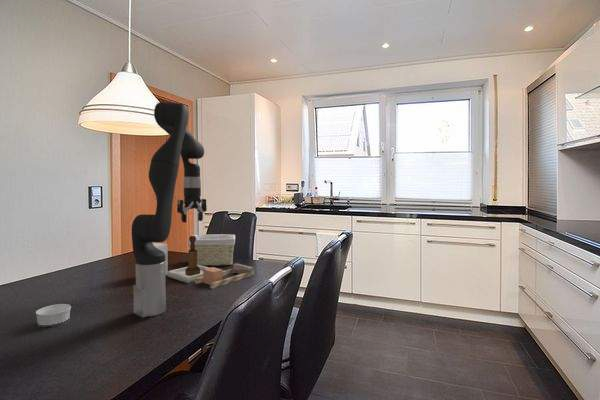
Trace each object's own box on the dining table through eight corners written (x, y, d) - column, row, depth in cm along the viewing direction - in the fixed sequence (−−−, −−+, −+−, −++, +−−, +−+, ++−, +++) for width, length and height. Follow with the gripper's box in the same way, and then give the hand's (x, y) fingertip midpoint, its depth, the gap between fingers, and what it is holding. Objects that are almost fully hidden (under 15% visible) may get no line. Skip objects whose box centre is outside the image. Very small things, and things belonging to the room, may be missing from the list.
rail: (212, 288, 136) (212, 279, 135) (194, 283, 143) (194, 274, 143) (253, 275, 155) (253, 267, 155) (236, 271, 162) (236, 263, 162)
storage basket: (235, 258, 189) (235, 233, 188) (235, 266, 173) (235, 238, 172) (192, 260, 184) (191, 234, 183) (187, 267, 168) (187, 239, 167)
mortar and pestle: (195, 276, 150) (195, 237, 149) (182, 275, 151) (182, 236, 150) (202, 272, 156) (202, 234, 155) (190, 271, 157) (189, 234, 156)
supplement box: (138, 278, 149) (137, 246, 148) (151, 273, 157) (151, 242, 156) (155, 280, 146) (155, 247, 146) (168, 274, 155) (168, 243, 154)
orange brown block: (213, 286, 139) (213, 272, 139) (203, 282, 143) (203, 269, 143) (222, 283, 143) (222, 269, 143) (212, 280, 147) (212, 266, 147)
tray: (188, 283, 142) (188, 277, 142) (167, 276, 152) (167, 271, 152) (217, 275, 155) (217, 269, 155) (197, 269, 165) (197, 264, 165)
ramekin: (66, 314, 109) (66, 301, 109) (75, 321, 103) (74, 308, 103) (32, 323, 102) (32, 309, 102) (40, 331, 96) (39, 317, 96)
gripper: (183, 187, 143) (183, 223, 144) (210, 186, 155) (210, 220, 156) (173, 186, 148) (174, 222, 149) (200, 186, 159) (200, 219, 160)
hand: (192, 221), depth 152 cm, fingers open, 8 cm apart
